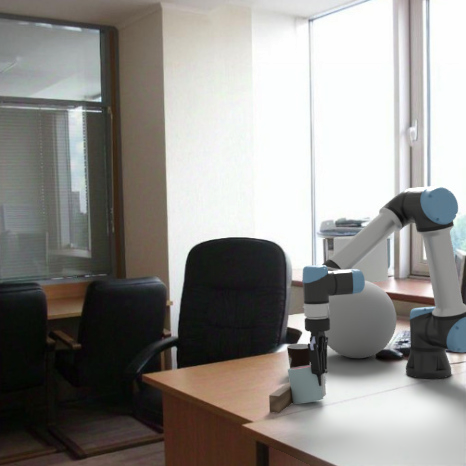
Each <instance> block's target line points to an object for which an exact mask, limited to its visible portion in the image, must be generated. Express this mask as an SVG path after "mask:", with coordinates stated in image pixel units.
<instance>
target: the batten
mask: <svg viewBox="0 0 466 466" xmlns="http://www.w3.org/2000/svg"><path fill="white" fill-rule="evenodd" d="M268 399H269V400H268V401H269V403H268V404H269V405H268V406H269V413H270V414H271V413H273V414H280V413H282V412H283V411H285V410H286V409H287V408H288V407H290V406H291V405H292V404H294V403H293V400H292V393H291V387H290V381H288V382H287V383H285V384H284V385H282V386H281V387H279V388H278V389H276V390H275V391H273V392H272V393H270V394H269V396H268Z"/></svg>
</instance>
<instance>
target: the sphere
mask: <svg viewBox="0 0 466 466" xmlns="http://www.w3.org/2000/svg"><path fill="white" fill-rule="evenodd" d="M329 310H330V315H329V316H328V317H329V318H330V330H328V331H325V336H326V337H328V344H327V347H328V348H330V349H331V350H332V351H334V352H335V353H336V354H339V355H341V356H343V357H345V358H346V357H347V358H350V359H364V358H368V357H372V356H374V355H376V354H379V352H382V350H383V349H385V348H386V347H387V346H388V344H389V343H390V342H391V340H392V339H393V336H394V334H395V331H396V327H397V312H396V308H395V304H394V302H393V301H392V299H391V297H390V296H389V295H388V293H387V292H386V291H385V290H384V289H382V287H381V286H379V285H377V284H376V283H374V282H368V281H365V286H364V289H363V291H362V292H360V293H355V294H353V295H352V294H346V295H334V296H329Z"/></svg>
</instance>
